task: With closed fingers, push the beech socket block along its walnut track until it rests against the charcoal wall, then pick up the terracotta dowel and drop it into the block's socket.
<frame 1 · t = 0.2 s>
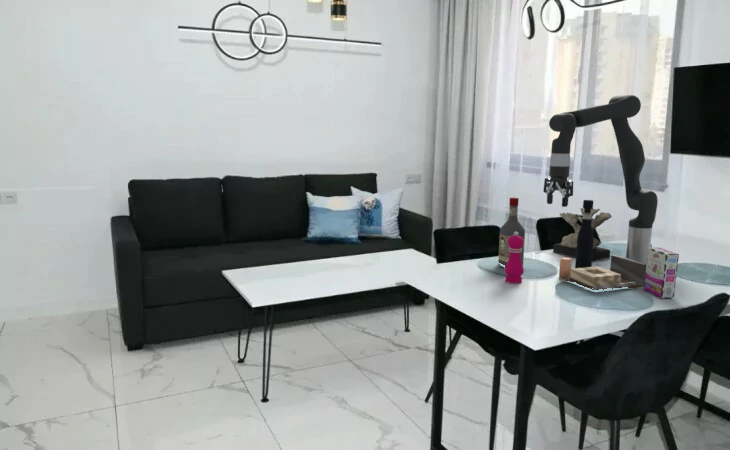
hand: (556, 205, 217), 29 cm above the table, fingers open, 8 cm apart
wine bottle: (582, 271, 228), on the table
candy bar box: (658, 294, 197), on the table
pepper mill: (513, 281, 212), on the table
liquor: (510, 266, 235), on the table
dowel: (564, 278, 217), on the table
coral: (582, 253, 259), on the table
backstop: (604, 284, 209), on the table
socket block: (594, 277, 206), point 3 cm above the table, slide at 0.0 cm
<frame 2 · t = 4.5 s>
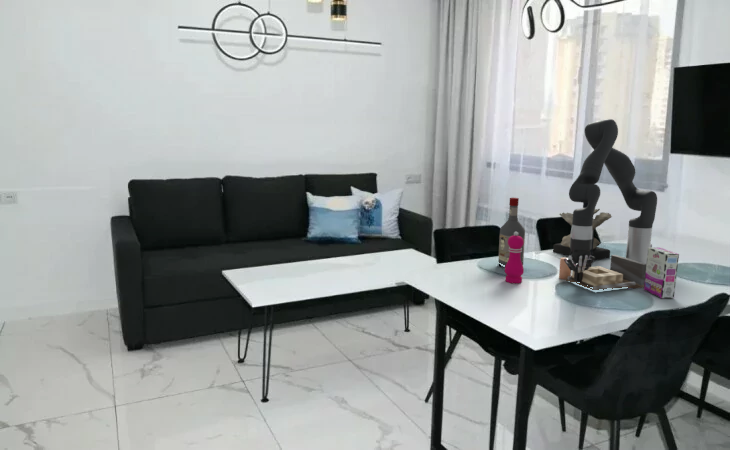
hand: (578, 281, 204), 2 cm above the table, fingers closed
socket block: (596, 276, 207), point 3 cm above the table, slide at 1.0 cm, touching gripper
everything else where it was.
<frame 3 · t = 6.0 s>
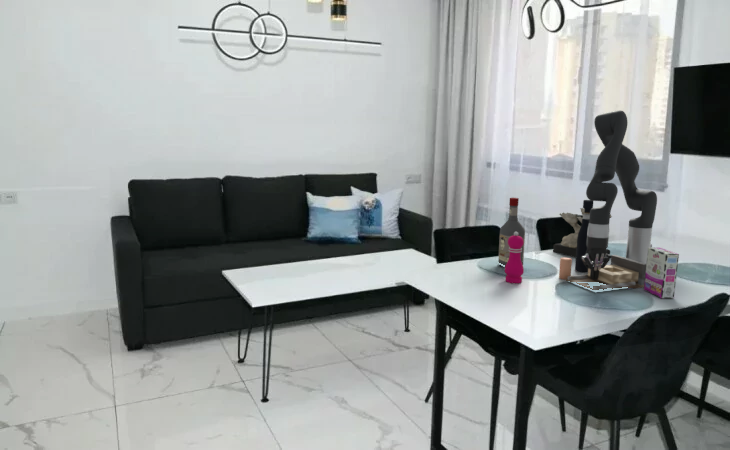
hand: (594, 279, 207), 2 cm above the table, fingers closed
socket block: (612, 275, 209), point 3 cm above the table, slide at 8.5 cm, touching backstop, gripper
everything else where it was.
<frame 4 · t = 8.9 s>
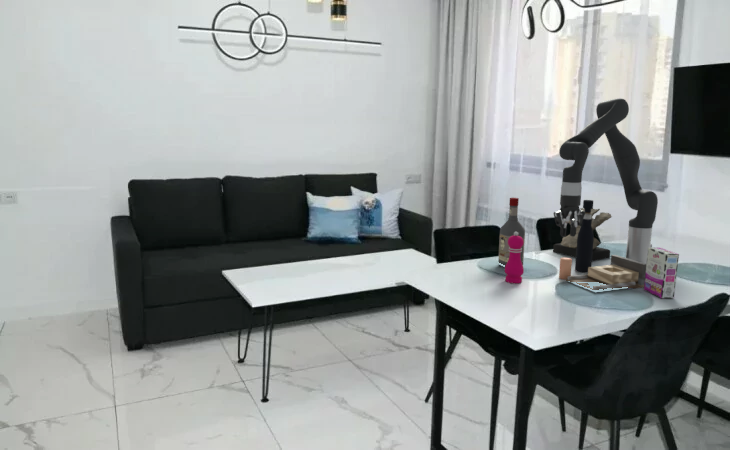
hand: (567, 236, 214), 17 cm above the table, fingers open, 4 cm apart
socket block: (612, 275, 209), point 3 cm above the table, slide at 8.5 cm, touching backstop
everything else where it was.
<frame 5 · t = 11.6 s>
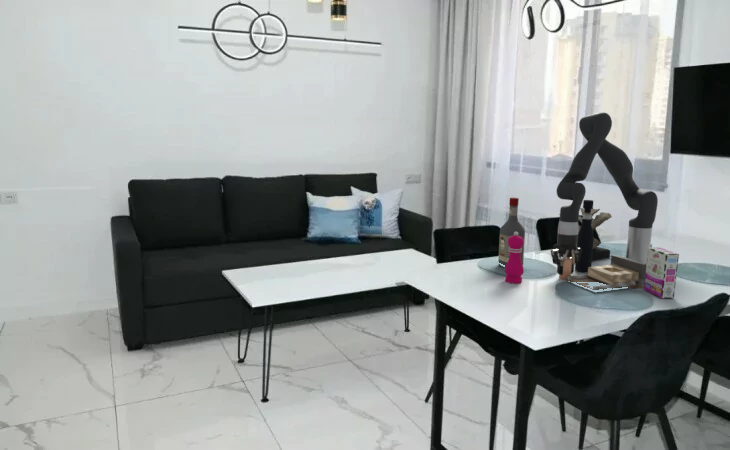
hand: (565, 273, 217), 2 cm above the table, fingers closed on dowel, 4 cm apart
dowel: (564, 278, 217), on the table, touching gripper
everything else where it was.
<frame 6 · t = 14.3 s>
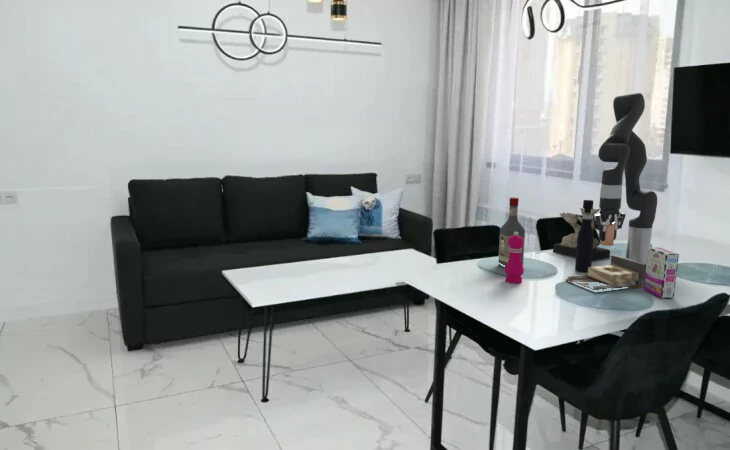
hand: (607, 239, 208), 17 cm above the table, fingers closed on dowel, 4 cm apart
dowel: (606, 244, 208), point 15 cm above the table, touching gripper
everything else where it was.
when the fingers open (6 cm above the table, at t = 17.1 s): dowel drops 2 cm, resting on socket block.
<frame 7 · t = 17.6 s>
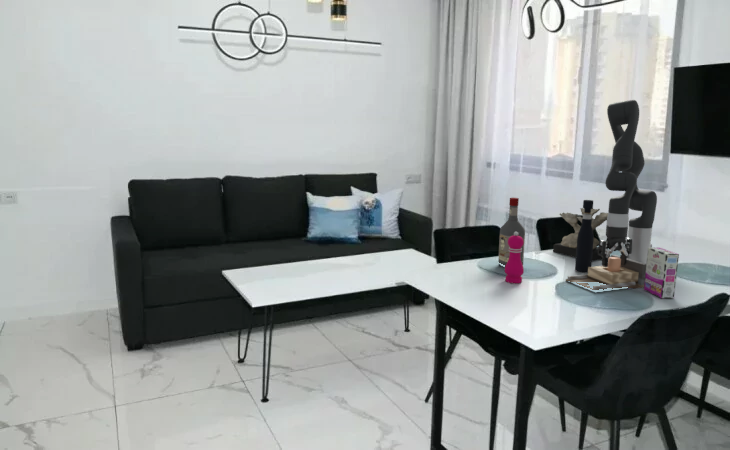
hand: (613, 265, 208), 7 cm above the table, fingers open, 8 cm apart
dowel: (612, 278, 209), point 2 cm above the table, touching socket block
socket block: (612, 275, 209), point 3 cm above the table, slide at 8.5 cm, touching dowel
everything else where it was.
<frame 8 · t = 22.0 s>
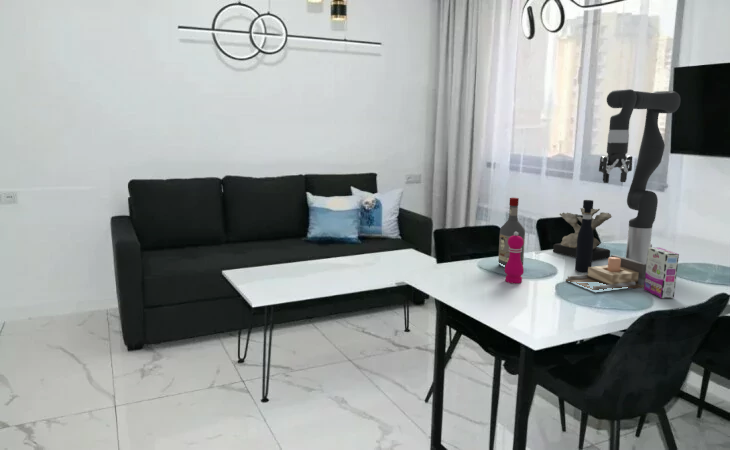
hand: (614, 182, 215), 38 cm above the table, fingers open, 8 cm apart
nothing on the table moved.
at the end: socket block slide at 8.5 cm; dowel 0.3 cm off-centre on the socket block, point 2.0 cm above the socket block's base; dowel tilted 0° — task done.
